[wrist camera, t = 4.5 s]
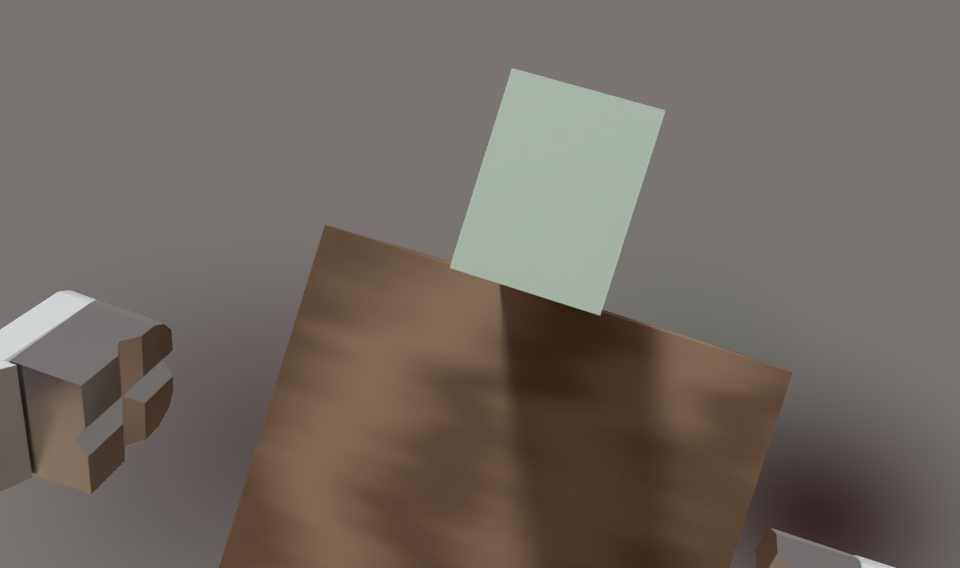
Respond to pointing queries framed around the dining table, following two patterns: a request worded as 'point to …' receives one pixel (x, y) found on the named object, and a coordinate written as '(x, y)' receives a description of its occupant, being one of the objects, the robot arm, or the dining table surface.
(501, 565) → the wood grain block
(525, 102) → the sage block
